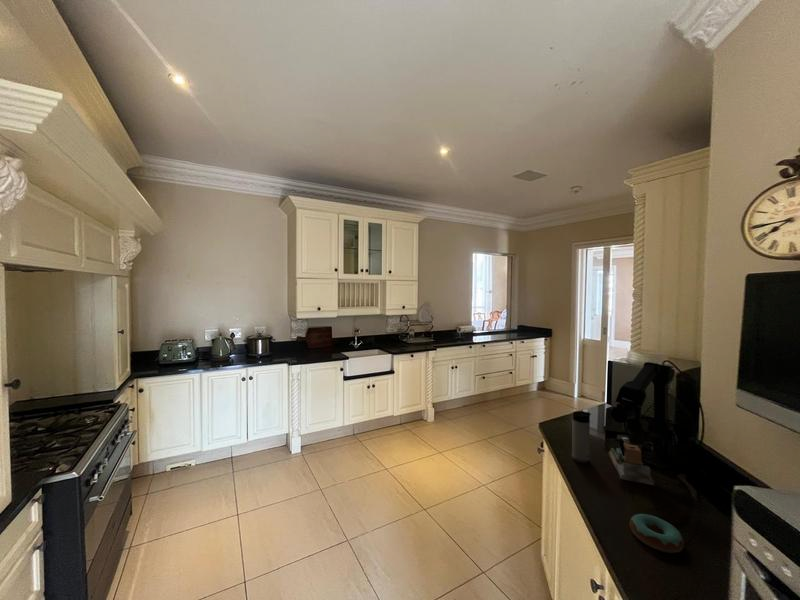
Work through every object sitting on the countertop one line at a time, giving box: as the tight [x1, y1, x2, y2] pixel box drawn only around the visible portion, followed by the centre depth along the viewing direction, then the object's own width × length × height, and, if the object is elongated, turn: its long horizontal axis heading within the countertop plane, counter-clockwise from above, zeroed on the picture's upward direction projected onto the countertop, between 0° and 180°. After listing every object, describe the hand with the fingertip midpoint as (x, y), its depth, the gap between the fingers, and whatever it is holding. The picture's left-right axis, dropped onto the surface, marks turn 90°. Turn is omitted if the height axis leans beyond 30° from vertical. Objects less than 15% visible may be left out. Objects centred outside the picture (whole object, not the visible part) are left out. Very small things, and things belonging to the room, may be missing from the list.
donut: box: [629, 513, 685, 554], centre depth 88 cm, size 12×12×4 cm
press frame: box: [608, 447, 655, 486], centre depth 124 cm, size 10×20×6 cm, turn 157°
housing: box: [622, 443, 642, 464], centre depth 122 cm, size 5×5×5 cm
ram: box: [615, 437, 631, 463], centre depth 128 cm, size 6×5×8 cm
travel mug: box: [571, 410, 592, 464], centre depth 130 cm, size 6×7×20 cm
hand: (631, 457), depth 122 cm, fingers closed on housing, 5 cm apart
